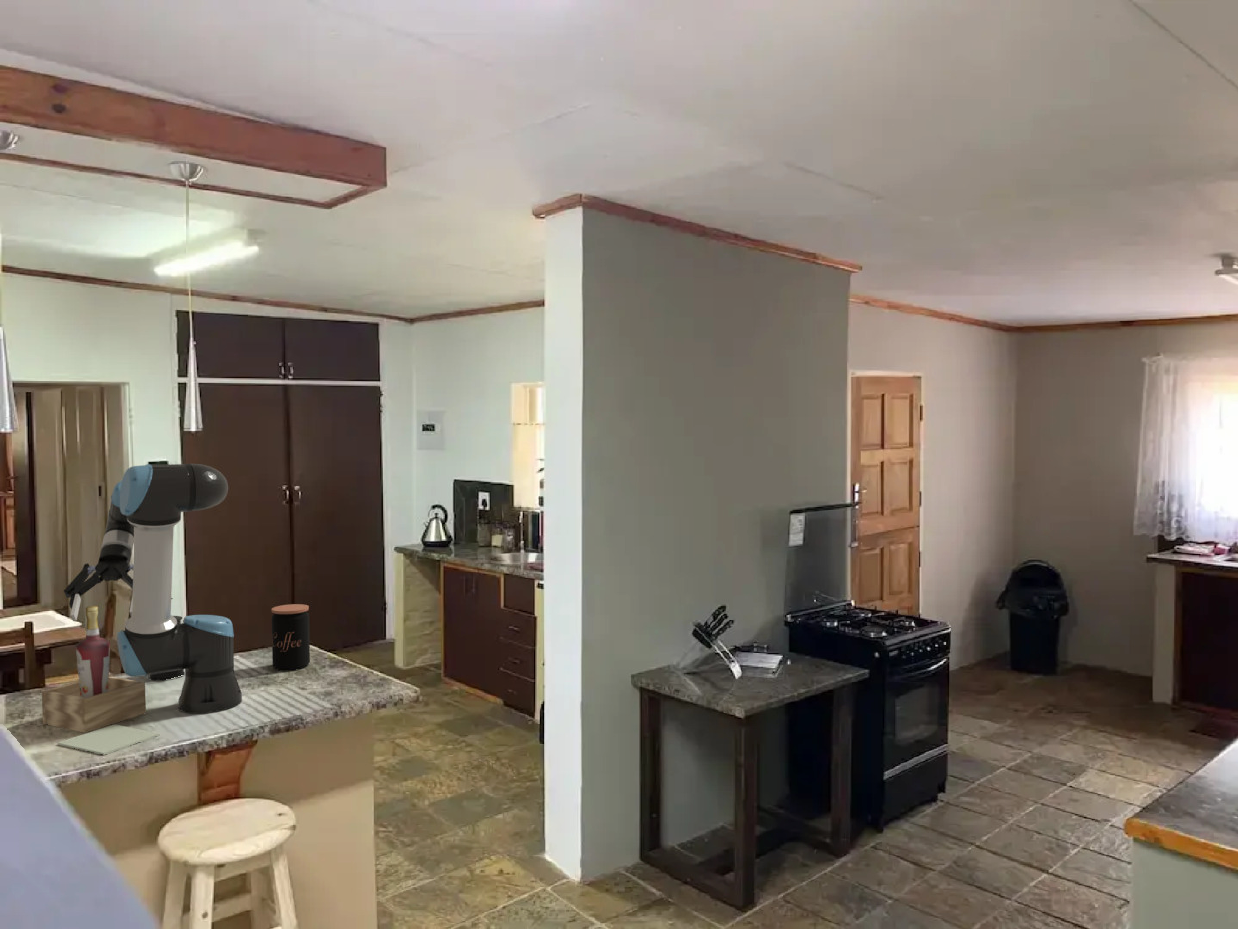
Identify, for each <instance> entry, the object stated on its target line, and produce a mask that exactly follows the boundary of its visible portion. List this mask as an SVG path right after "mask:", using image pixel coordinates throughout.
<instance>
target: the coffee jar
mask: <svg viewBox="0 0 1238 929" xmlns="http://www.w3.org/2000/svg"><path fill="white" fill-rule="evenodd" d="M309 607H310V606H309V605H307V604H302V603H300V604H298V603H296V604H294V603H292V604H282V605H276V606H274V607H272V608H271V613H272V616H271V648H272V649H271V650H272V651H271V652H272V654H271V656H272V659H271V660H272V667H273V668H274V669H275V670H276V669H278V670H277V671H280V670H292V671H297V670H296V669H299V670H302V669H305V668H307V667H308V666H309V664H310V662H311V654H310V652H311V650H310V648H311V646H310V640H311V639H310V614H309V613H308V611H309V609H310V608H309Z"/></svg>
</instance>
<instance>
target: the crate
mask: <svg viewBox="0 0 1238 929" xmlns="http://www.w3.org/2000/svg"><path fill="white" fill-rule="evenodd" d="M146 698H147V697H146V682H145V681H140V680H133V679H128V678H123V677H115V676H110V675H109V691H108V692H105V693H101V694H98V695H94V696H91V697H87V698H83V697H80V687H79V681H77V682H73V683H69V684H66V685H60V686H58V687H57V686H56V687H53V688H49V689H46V690H42V691H41V702H42V703H41V707H42V708H41V710H42V725H46V724H48V725H47V726H52V727H57V728H61V729H66V730H70V731H71V730H72V731H75V732H80V733H84V734H86V733H89V731H90V732H92V730H93V731H96V730H99V729H102V728H105V727H108V726H111V725H110V724H112V725H114V724H115V725H116V724H117V722H118V723H120V721H121V722H123V720H124V721H126V720H125V719H127V720H129V719H128V718H130V719H133V718H136V717H139V716H138V715H140V716H142V715H141V714H143V715H145V714H144V713H147V707H146V706H147V702H146V701H147V700H146Z"/></svg>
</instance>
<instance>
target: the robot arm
mask: <svg viewBox="0 0 1238 929" xmlns="http://www.w3.org/2000/svg"><path fill="white" fill-rule="evenodd" d="M228 484H229V483H228V480H227V479H226V477H225V476H224V475H223V473H222V472H220V471H219V470H218V469H216V468H214V467H212V466H209V465H205V464H200V463H182V464H181V463H178V464H173V463H172V464H150V463H148V464H145V465H144V464H143V465H133V466H130V467H128V468H127V469H126V470H125V472H124V473H123V476H122V478H121V480H120V481H119V482H117V483H116V484H115V485H114V488H113V489H112V493H111V496H110V504H109V510H108V514H107V521H106V526H105V531H104V535H103V540H102V543H101V544H102V545H101V549H100V552H99V556H98V562H97V564H96V565H90V564H89V563H84V565H82V566H83V567H82V569H81V571H79V573H78V574H77V575H76V576H75V578H73V580H71V582H70V583H69V584H68V585H67V587H65V589H64V590H63V593H64V595H65V598H67V599H68V598H69V602H68V606H69V608H70V609H71V612H70V617H71V619H72V621H73V622H77V620H78V616H79V611H80V606H81V603H82V598H81V597H82V596H83V595H85V594H86V593H87V592H88V591H90V590H91V589H92V588H93V587H95V586H96V585H98V584H101V583H102V582H103V581H104V582H110V581H116V582H117V581H119V580H120V579H121V580H122V581H123V582H124V583H126V584H127V586H129V588H130V589H131V590H132V596H131V602H130V606H129V614H130V618H128V619H127V620H126V621H125V624H124V630H120V631H118V632H117V633H116V642H117V649H118V654H119V658H120V659H119V660H120V662H121V666H122V669H123V671H124V673H125V675H126V676H129V677H133V678H134V677H135V678H136V677H142V676H144V677H148V676H149V675H151V674H157V673H163V672H170V671H176V670H182V669H184V672H185V674H184V681H183V684H182V688H181V691H180V696H179V697H178V705H177V706H178V710H179V711H181V712H183V713H191V714H204V713H205V714H206V713H214V712H220V711H224V710H229V709H233V708H234V707H237V706H238V705H240V704H242V702H243V693H242V690H241V689H240V685H239V683H238V679H237V677H236V675H235V660H234V658H235V657H234V656H235V655H234V649H235V648H234V636H235V634H234V627H233V622H232V621H231V619H230V618H228V617H226V616H222V615H215V614H193V615H191V614H190V615H187V616H184V617H183V619H182V622H183V623H182V622H181V624H177V619H176V618H175V617H173V616H174V615H172V613H171V612H172V600H171V598H172V591H173V588H172V587H173V586H172V584H173V557H174V554H173V553H174V528H175V526H176V525H178V524H179V523H180V522H181V519H182V513H183V512H185V513H187V512H195V511H201V510H206V509H211V508H212V507H213V508H214V507H215V506H218V505H219V504H221V503H222V502H224V501H225V499H226V497H227V495H228V491H229V485H228ZM132 553H133V554H132ZM132 555H133V559H131V558H132ZM131 560H133V561H132V562H133V563H132V564H131ZM131 570H132V577H131V576H130V575H129V574H128V573H129V572H130V571H131ZM93 572H94V573H93ZM90 575H92V576H90Z"/></svg>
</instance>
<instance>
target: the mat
mask: <svg viewBox="0 0 1238 929" xmlns="http://www.w3.org/2000/svg"><path fill="white" fill-rule="evenodd" d="M155 736H158V737H161V733H160V732H159V733H158V732H155V731H154V732H153V731H149V730H144V729H138V728H135V727H129V726H125V725H120V724H116V723H115V724H112V725H108V726H105V727H102V728H99V729H96V730H93V731H90V732H87V733H84V734H81V735H77V736H75V737H71V738H69V739H65V740H61V741H59V742H57V746H61V747H65V748H70V749H74V748H75V749H74V750H78V749H81V750H80V751H83V750H85V751H84V752H87V751H90V752H89V753H91V752H94V753H93V754H97V755H100V754H103V755H102V756H106V755H105V754H107V755H109V754H112V753H115V752H117V751H116V750H118V751H120V750H119V749H121V750H123V749H122V748H124V749H126V748H129V747H131V746H130V745H132V746H134V745H133V744H135V743H138V742H141V743H143V741H144V742H146V741H149V740H151V739H150V738H152V737H155ZM155 738H156V737H155ZM148 739H149V740H148ZM152 739H153V738H152ZM138 744H139V743H138ZM135 745H136V744H135ZM114 751H115V752H114Z"/></svg>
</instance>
